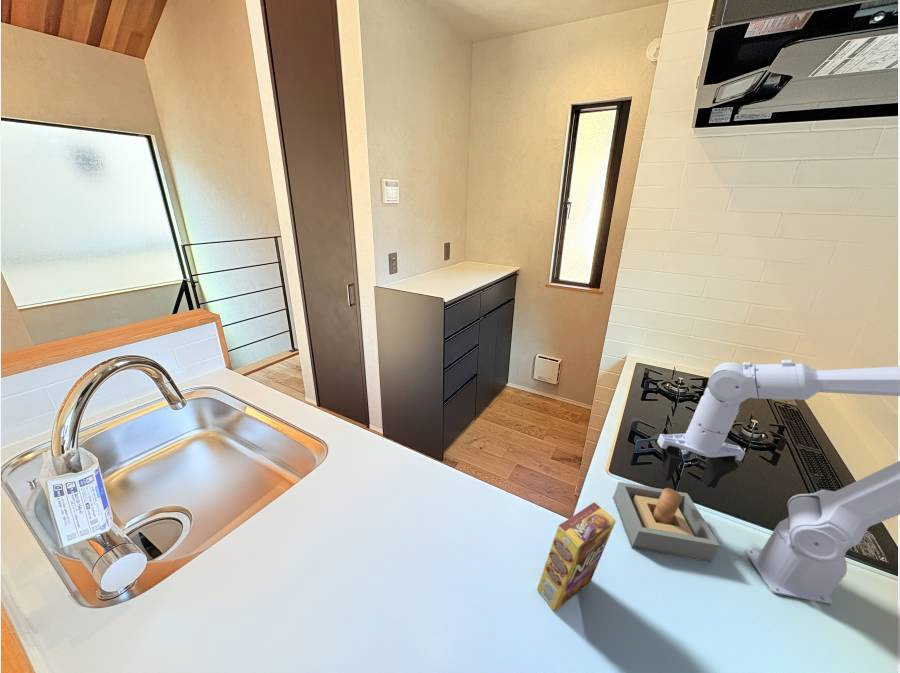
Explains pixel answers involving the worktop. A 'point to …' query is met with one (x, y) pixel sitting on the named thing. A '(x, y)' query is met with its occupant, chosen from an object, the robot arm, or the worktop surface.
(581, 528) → the candy box
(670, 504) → the peg
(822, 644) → the worktop surface
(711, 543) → the tray
